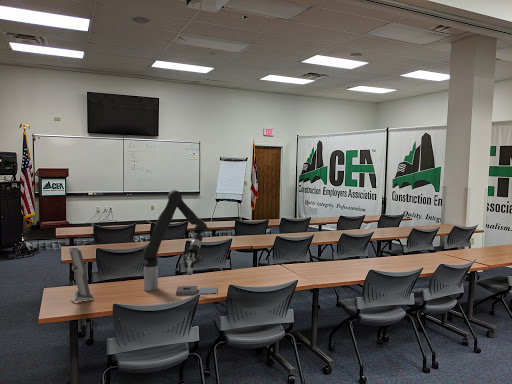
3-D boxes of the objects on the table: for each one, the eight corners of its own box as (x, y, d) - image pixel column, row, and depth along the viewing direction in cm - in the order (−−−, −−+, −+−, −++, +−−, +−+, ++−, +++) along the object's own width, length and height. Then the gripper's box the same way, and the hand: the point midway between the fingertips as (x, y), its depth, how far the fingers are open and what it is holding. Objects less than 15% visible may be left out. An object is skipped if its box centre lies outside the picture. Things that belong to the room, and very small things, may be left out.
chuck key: (187, 275, 265) (186, 258, 264) (187, 273, 268) (187, 257, 268) (192, 275, 265) (192, 258, 264) (192, 273, 269) (192, 257, 268)
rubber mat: (199, 294, 262) (199, 293, 262) (200, 289, 274) (200, 287, 274) (216, 293, 264) (216, 292, 264) (216, 288, 276) (216, 287, 276)
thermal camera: (70, 299, 253) (68, 247, 251) (90, 295, 260) (89, 245, 258) (73, 304, 243) (71, 250, 241) (94, 300, 251) (92, 248, 249)
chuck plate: (176, 295, 260) (176, 291, 260) (177, 289, 272) (177, 286, 272) (196, 294, 262) (196, 291, 262) (197, 289, 274) (197, 285, 274)
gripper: (184, 243, 274) (177, 264, 263) (202, 244, 271) (196, 265, 260) (187, 249, 280) (181, 269, 269) (205, 250, 277) (199, 270, 266)
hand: (188, 267), depth 265 cm, fingers closed on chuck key, 3 cm apart
